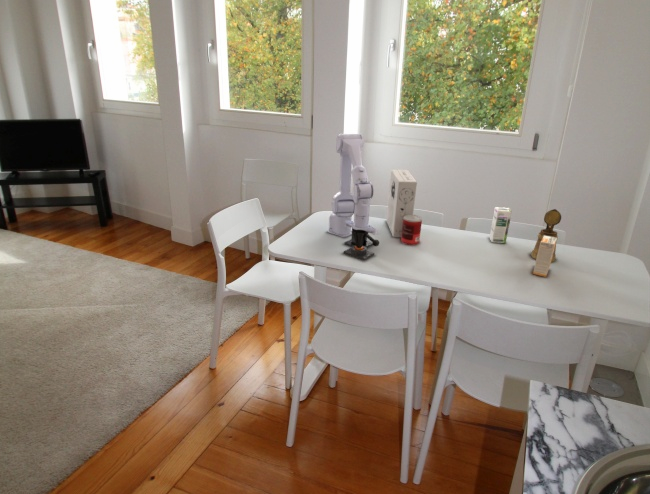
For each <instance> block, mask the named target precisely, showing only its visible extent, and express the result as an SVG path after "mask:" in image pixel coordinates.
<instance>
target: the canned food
mask: <svg viewBox="0 0 650 494" xmlns="http://www.w3.org/2000/svg"><path fill="white" fill-rule="evenodd" d="M422 222H423V218H422V216H420V215H417V214H413V215H405V216H404V218H403V227H402V236H401V237H400V241H401V243H402V244H404V245H408V246H415V245H418V244H419V243H420V238H421V231H422V224H423V223H422Z"/></svg>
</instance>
